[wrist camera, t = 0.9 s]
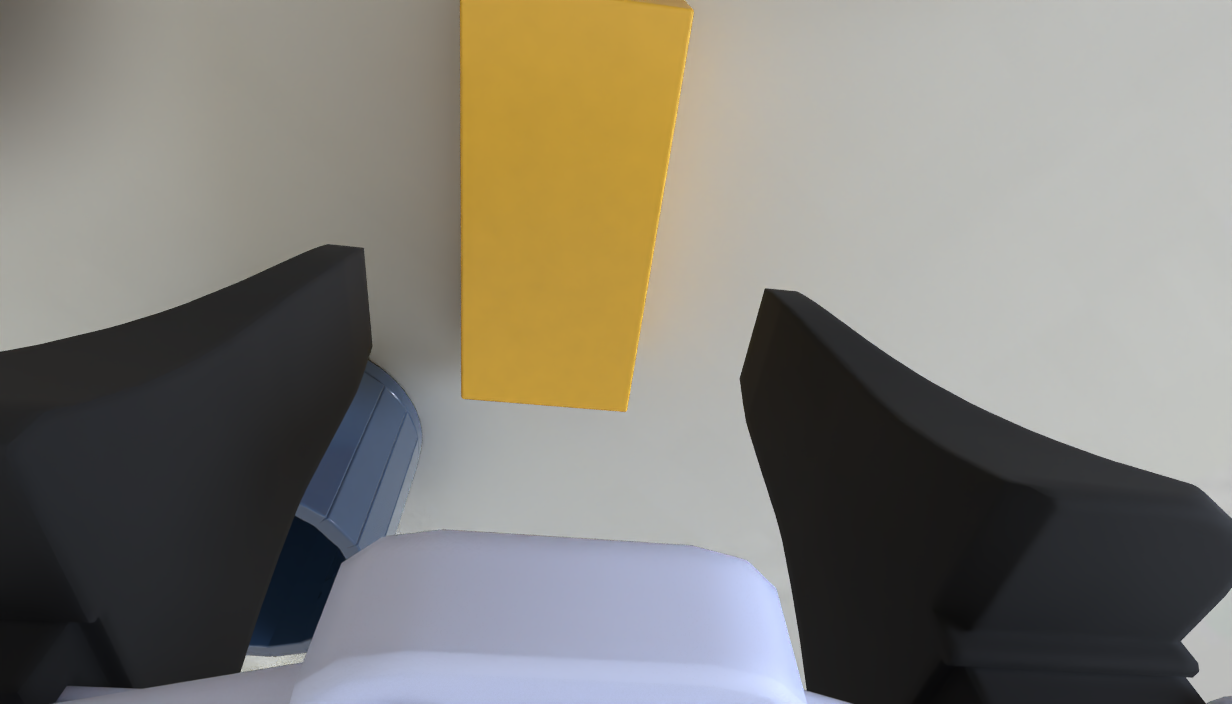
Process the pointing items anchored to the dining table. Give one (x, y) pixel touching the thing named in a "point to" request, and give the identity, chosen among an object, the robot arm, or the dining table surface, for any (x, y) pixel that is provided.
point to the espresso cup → (341, 511)
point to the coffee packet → (562, 191)
